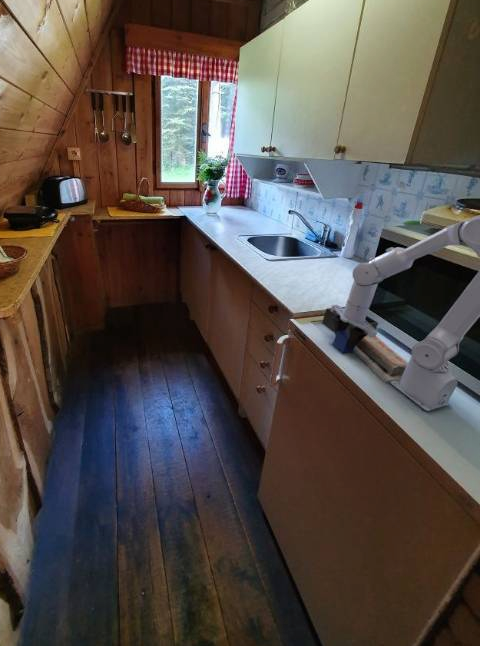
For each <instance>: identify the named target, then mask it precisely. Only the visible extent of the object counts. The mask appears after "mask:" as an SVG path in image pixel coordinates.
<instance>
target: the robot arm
mask: <svg viewBox="0 0 480 646" xmlns="http://www.w3.org/2000/svg"><path fill="white" fill-rule="evenodd" d="M464 245H466V246H468V247H469V248H470V249H471V250H472V251H473V252H474V253H475V254H476V256H477V258H478V260H479V261H480V214H479V215H475V216H473V217H470V218H468V219H467V220H465V221H460V222H457V223H454V224H451V225H449V226H446V227H444V228H443V229H440V230H439V231H437V232H435V233H433V234H431V235H430V236H428V237H426V238H423V239H422V240H419V241H418V242H416V243H414V244H412V245H410V246H408V247H406V248H405V247H400V246H397V247H393V246H392V247H389V248H386V249H385V252H384V253H382V254H381V255H378V256H376V257H374V256H373V257H370V258H369V259H368V261H369V262H361V263H358V264H357V265H356V266H355V267H354V268H353V269H352V279H353V282H352V285H351V288H350V290H349V294H348V296H347V299H346V302H345V306H344V307H345V308H342V307H343V306H340V305H338V304H332V305H331V307H330V308H331V310H330V311H331V312H335V313H336V314H337V316H336V317H333V322H334V326H335V332H334V337H335V336H336V333H337V331H341V330H346V329H347V327H348V325H349V324H353V325H354V326H356V328H351V329H350V336H349V341H348V344H347V349H348V350H352V349H354V348H355V346H356V345H357V344H358V343H359V341H360V340H362V339H363V338H364V337H365V336H368V337H370V338H372V337H377V334H378V332H379V331H378V330H377V328H376V329H374V328H373V327H372V326H371V325H370V324H369V323H368V322H367V321H366V320H365V318H366V315H367V316H368V313H369V310H370V307H371V304H372V301H373V299H374V296H375V293H376V290H377V287H378V285H379V283H381V282H383V281H384V280H385V279H387V278H390V277H391V276H394V275H397V274H398V273H402V272H403V271H406V270H408V269H411V267H412V266H413V263H414V261H415V260H417V259H419V258H422V257H424V256H427V255H430V254H431V253H434V252H436V251H438V250H441V249H444V248H446V247H449V246H464ZM479 318H480V270H478V272H477V273H476V274H475V276H474V277H473V278H472V280H471V281H470V282H469V284H467V286H466V287H465V289H464V290H463V292H462V293H461V294H460V296H459V297H458V298H457V299H456V300H455V302H454V303H453V305H452V306H451V307H450V308H449V310H448V311H447V313H446V314H445V315H444V316H443V318H441V320H440V322H439V323H438V324H437V325H436V327H435V328H433V329H432V331H430V333H428V335H427V336H426V337H425V338H424V339H423V340H421V341H417V342H416V343H415V344H413V346H412V347H411V354H410V355H411V356H410V357H409V359H408V362H407V363H408V364H407V366H406V368H405V371H404V373H403V375H402V377H401V379H400V380H398V381H391V382H390V384H391V385H392V386H393V387H394V388H395V389H397V390H398V391H400V392H401V393H402V394H404V395H405V396H406V397H407V398H409V399H410V400H411V401H412V402H414V403H415V404H416V405H418V406H419V407H420V408H421V409H422V410H424V411H426V412H429V411H433V410H436V409H439V408H442V407H446V406H449V401H450V399H451V397H452V396H453V394H454V391H455V390H456V388H457V386H458V383H459V381H458V379H457V378H456V377H455V376H454V375H452V373H451V372H450V371H449V369H450V367H449V361H450V360H451V359H452V358H455V357H456V356H457V355H458V353H459V350H460V343H461V342H462V340H463V339H464V336H465V335H466V334H467V333H468V331H469V330H470V329H471V327H473V325H475V323H476V322H477V320H479Z"/></svg>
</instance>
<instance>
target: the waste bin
mask: <svg viewBox="0 0 480 646" xmlns="http://www.w3.org/2000/svg"><path fill="white" fill-rule="evenodd" d="M341 307H342V308H345V306H341ZM330 310H331V307H328V308H326V309H325V312H324V315H323V318H322V324H324V326H325V327H327V328H328V329H330V330H331V331H333V332H334V333H335V326H334V322H333V317H336V316H337V314H336V313H335V312H331V311H330ZM365 320H366V321H367V322H368V323H369V324H370V325H371V326H372V327H373V328H374V329H376V330H377V328H378V325H379V322H378V321H376V320H375V319H373V318H372V317H370V316H368V314H367V315H366V318H365ZM351 328H356V326H354V325H353V324H349V325H348V327H347V329H346V330H349V331H350V329H351Z"/></svg>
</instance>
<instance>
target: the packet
mask: <svg viewBox="0 0 480 646" xmlns="http://www.w3.org/2000/svg"><path fill="white" fill-rule="evenodd" d="M349 336H350V331H349V330H341V331H337V333H336V336H335V335H334V340H333V343H332V346H333V347H334V348H335V349H337V350H338V351H339V352H341V354H347V353H352V352H354V351H353V350H354V349H352V350H348V349H347V344H348V341H349Z"/></svg>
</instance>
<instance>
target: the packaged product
mask: <svg viewBox="0 0 480 646" xmlns="http://www.w3.org/2000/svg"><path fill="white" fill-rule="evenodd" d="M353 352H354V354H356V355H357V356H358V358H360V359H361V360H362V362H363V363H365V364H366V365H367V366H368V367H369V368H370V369H371V370H372V371H373V372H374V373H375V374H376V375H377V376H378V377H379V378H380V379H381V380H382V381H383V382H384V383H390V382H391V381H398V380H400V379H401V377H402V375H403V373H404V371H405V368H406V366H407V364H408V362H407V361H405V360H404V359H403V358H402V357H401V356H399V355H398V354H397V352H395V351H394V350H393V349H391V347H389V345H387V344H386V343H385V342H383V341H382V339H380V338H379V337H378V336H376V337H372V338H370V337H368V336H365V337H364V338H363V339H362V340H360V341H359V343H358V344H357V345H356V346H355V348H354V350H353ZM390 384H391V383H390Z"/></svg>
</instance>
